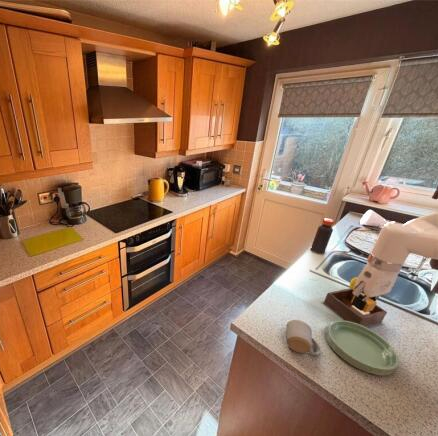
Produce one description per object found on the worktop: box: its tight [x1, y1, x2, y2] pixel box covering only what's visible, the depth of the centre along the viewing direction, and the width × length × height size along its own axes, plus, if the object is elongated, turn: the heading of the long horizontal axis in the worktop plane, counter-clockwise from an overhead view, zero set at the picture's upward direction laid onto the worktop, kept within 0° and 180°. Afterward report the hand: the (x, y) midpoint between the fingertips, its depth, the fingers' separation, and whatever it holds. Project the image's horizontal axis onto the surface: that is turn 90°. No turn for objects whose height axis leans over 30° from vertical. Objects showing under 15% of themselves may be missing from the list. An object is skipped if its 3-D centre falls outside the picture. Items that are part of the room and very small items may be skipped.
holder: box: [323, 287, 388, 328], centre depth 93 cm, size 13×14×6 cm
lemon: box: [349, 276, 359, 290], centre depth 103 cm, size 6×6×8 cm
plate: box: [325, 319, 400, 376], centre depth 79 cm, size 18×18×4 cm
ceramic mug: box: [285, 319, 321, 356], centre depth 79 cm, size 11×8×8 cm
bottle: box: [310, 218, 335, 255], centre depth 132 cm, size 7×7×20 cm
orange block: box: [351, 292, 377, 312], centre depth 78 cm, size 4×5×4 cm
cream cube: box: [351, 306, 370, 317], centre depth 91 cm, size 4×5×4 cm
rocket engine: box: [359, 209, 396, 229], centre depth 163 cm, size 12×12×18 cm
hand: (361, 305), depth 79 cm, fingers closed on orange block, 3 cm apart
